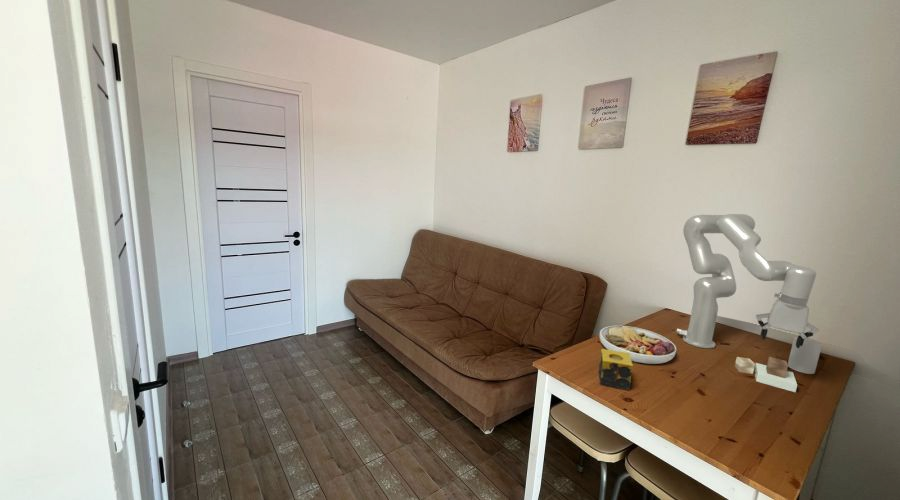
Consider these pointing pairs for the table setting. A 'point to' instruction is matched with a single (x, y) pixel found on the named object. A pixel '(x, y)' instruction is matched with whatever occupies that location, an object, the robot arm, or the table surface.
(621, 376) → the yellow black cube
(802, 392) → the table surface
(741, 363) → the birch block
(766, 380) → the plate
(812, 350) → the white cylinder
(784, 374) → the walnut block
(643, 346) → the bowl
